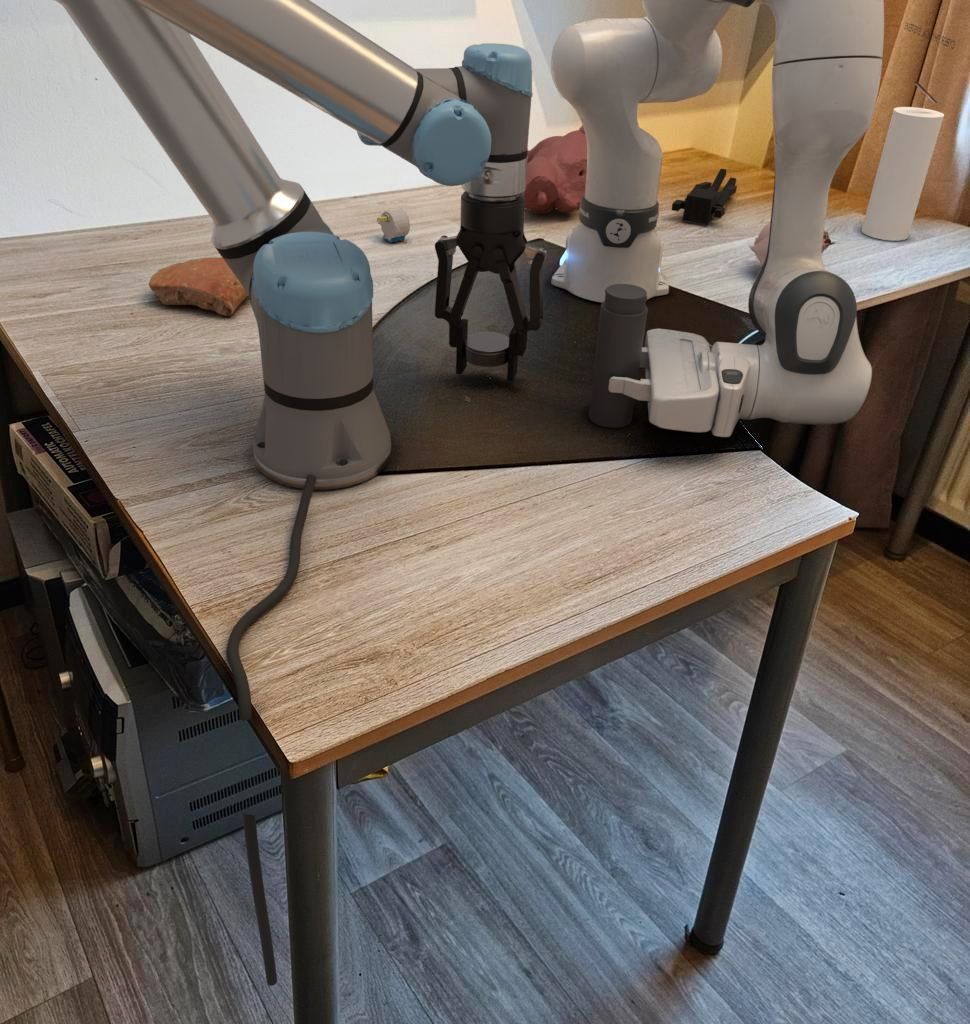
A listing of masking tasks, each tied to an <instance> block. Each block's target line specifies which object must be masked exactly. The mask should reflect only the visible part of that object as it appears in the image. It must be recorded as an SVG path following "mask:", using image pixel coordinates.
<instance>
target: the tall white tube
mask: <svg viewBox="0 0 970 1024" xmlns="http://www.w3.org/2000/svg"><path fill="white" fill-rule="evenodd" d="M904 30H905V31H907V32H910V33H912V32H913V34H915V33H916V34H917V35H918V36H921V37H923V38H924V37H925V39H928V40H930V41H931V40H932V41H933V42H937V40H938V44H939V43H940V44H942V45H943V46H946V47H947V48H948V47H949V49H950V48H951V49H952V50H953V49H954V48H955V45H956V40H954V39H951V38H948V37H946V36H942V37H941V34H938V35H937V33H934V32H933V31H931V30H926V29H923V34H921V31H922V27H920V26H918V25H915V24H912V23H909V22H908V21H907V22H905V26H904ZM927 33H928V35H927ZM940 37H941V38H940ZM940 39H941V42H940ZM945 39H946V40H945ZM944 42H945V43H944ZM952 43H954V44H953V46H952ZM913 84H914V85H915V86H916V87H917V88H919V90H920V91H921V92H922V95H923V96H924V97H926V98H928V99H929V100H930V101H931V102H932V103H934V104H937V103H938V101H937V100H936V99H935V98H934V97H932V95H931V94H930V93H929V92H928V91H927V90H926V89H925V88H924V87H923V86H922V85H921V84H920V83H919V82H918V81H915V80H914V82H913ZM944 117H945V114H944V113H943V112H940V111H937V110H936V109H935V110H934V109H929V108H924V107H915V106H914V107H913V106H897V107H894V108H893V110H892V114H891V118H890V122H889V126H888V129H887V133H886V137H885V140H884V145H883V148H882V151H881V155H880V159H879V163H878V166H877V170H876V174H875V177H874V182H873V185H872V189H871V193H870V196H869V201H868V203H867V208H866V212H865V215H864V220H863V222H862V227H861V232H862V233H863V234H864V235H866V236H868V237H871V238H873V239H878V240H884V241H893V242H895V241H897V242H898V241H899V242H900V241H905V240H907V239H909V236H910V233H911V229H912V226H913V222H914V219H915V215H916V211H917V210H918V209H917V208H918V206H919V202H920V198H921V195H922V191H923V188H924V184H925V182H926V178H927V175H928V171H929V169H930V165H931V161H932V158H933V155H934V151H935V148H936V145H937V142H938V141H937V140H938V138H939V134H940V130H941V127H942V124H943V121H944Z"/></svg>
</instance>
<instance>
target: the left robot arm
mask: <svg viewBox="0 0 970 1024" xmlns="http://www.w3.org/2000/svg"><path fill="white" fill-rule="evenodd" d="M53 1H54V2H56V3H58V4H60V5H61V6H62V7H63V9H64V10H65V11H66V13H67V14H68V15H69V17H70V18H71V20H72V22H73V23H74V24H75V26H76V27H77V28H78V30H79V31H80V33H81V34H82V36H83V37H84V39H85V40H86V41H87V42H88V45H90V47H91V48H92V50H93V51H94V53H95V54H96V56H97V57H98V59H99V60H100V62H102V64H103V66H104V67H105V69H106V70H107V71H108V72H109V74H110V75H111V77H112V79H113V80H114V81H115V82H116V84H117V86H118V87H119V88H120V90H121V91H122V92H123V94H124V95H125V97H126V98H127V100H128V101H129V103H131V105H132V107H133V108H134V110H135V111H136V113H137V114H138V115H139V117H140V118H141V120H142V121H143V122H144V124H145V125H146V127H147V128H148V130H149V131H150V132H151V134H152V136H153V137H154V138H155V140H156V141H157V142H158V144H159V145H160V147H161V148H162V149H163V151H164V153H165V155H167V157H168V158H169V160H170V161H171V163H172V164H173V165H174V167H175V169H177V171H178V172H179V174H180V176H181V177H182V178H183V180H184V181H185V182H186V185H188V187H189V188H190V189H191V191H192V192H193V194H194V195H195V197H196V198H197V199H198V201H199V202H200V204H201V205H202V207H203V208H204V210H205V211H206V212H207V214H208V215H209V217H210V218H211V220H212V221H213V227H212V233H211V243H212V245H213V247H214V248H215V250H216V251H217V252H218V253H219V255H220V256H221V258H223V259H224V261H225V262H226V263H227V265H228V266H229V268H230V269H231V270H232V272H233V273H234V275H235V276H236V277H237V279H238V280H239V282H240V283H241V285H242V286H243V288H244V289H245V291H246V292H247V294H248V296H247V297H248V299H249V302H250V305H251V308H252V311H253V316H254V318H255V321H256V324H257V331H258V337H259V348H260V357H261V358H260V359H261V369H262V378H263V388H264V390H263V391H264V396H263V400H262V404H261V408H260V412H259V415H258V419H257V423H256V427H255V430H254V434H253V439H252V441H253V442H252V455H253V460H254V464H255V467H256V468H257V470H258V471H259V472H260V473H261V474H262V475H263V476H265V477H266V478H268V479H269V480H271V481H273V482H275V483H278V484H280V485H283V486H286V487H290V488H295V489H301V490H302V494H301V497H300V501H299V505H298V509H297V513H296V516H295V519H294V524H293V527H292V531H291V536H290V545H289V560H288V566H287V569H286V572H285V574H284V576H283V578H282V580H281V581H280V583H279V584H278V585H277V586H276V588H274V589H273V591H272V592H271V593H269V594H268V595H267V596H265V597H264V598H263V599H262V600H260V601H259V602H258V603H257V604H255V605H254V606H252V607H251V608H250V609H248V610H247V611H246V612H245V613H244V614H243V615H242V616H241V617H240V618H239V619H238V621H237V622H236V623H235V625H234V626H233V627H232V630H231V632H230V634H229V637H228V640H227V645H226V650H225V651H226V659H227V663H228V666H229V669H230V671H231V674H232V676H233V680H234V685H235V689H236V695H237V706H238V718H239V720H240V721H242V722H245V721H248V720H250V719H251V718H252V714H253V713H252V712H253V709H252V698H251V697H252V696H251V695H252V694H251V689H250V683H249V679H248V676H247V673H246V670H245V667H244V665H243V662H242V660H241V656H240V642H241V640H242V638H243V635H244V634H245V632H247V630H248V628H249V627H250V626H251V625H252V624H253V623H254V622H255V621H257V620H258V618H259V617H261V616H262V615H264V614H265V613H266V612H267V611H269V609H271V608H272V607H274V606H275V605H276V604H277V603H278V602H280V600H281V599H283V598H284V596H286V595H287V593H288V592H289V591H290V589H291V587H292V586H293V585H294V582H295V580H296V578H297V575H298V573H299V568H300V564H301V549H302V547H301V545H302V536H303V531H304V527H305V522H306V518H307V515H308V511H309V507H310V504H311V499H312V495H313V492H314V490H315V491H323V490H327V491H328V490H337V489H342V488H348V487H351V486H355V485H358V484H361V483H363V482H366V481H368V480H370V479H373V478H374V477H375V476H377V475H378V474H380V473H381V472H382V471H383V470H384V469H385V468H386V467H387V466H388V464H389V463H390V461H391V458H392V438H391V432H390V430H389V427H388V424H387V422H386V419H385V417H384V413H383V411H382V408H381V406H380V403H379V400H378V398H377V395H376V393H375V385H374V336H373V333H374V332H373V330H374V329H373V328H374V327H373V298H374V282H373V277H372V274H371V265H370V262H369V259H368V257H367V255H366V254H365V252H364V251H363V250H362V249H361V248H360V247H359V246H358V245H357V244H355V243H354V242H353V241H350V240H349V239H347V238H345V239H341V238H340V237H339V236H338V235H336V234H335V233H334V232H333V231H332V229H331V228H330V226H329V225H328V224H327V223H326V222H325V221H324V219H323V218H322V217H321V215H320V213H319V211H318V210H317V208H316V207H315V205H314V203H313V201H312V200H311V198H310V197H309V196H308V194H307V192H306V191H305V189H304V187H303V186H302V184H300V183H299V182H296V181H293V180H288V179H283V178H282V177H280V175H279V174H278V171H277V170H276V169H275V167H274V166H273V164H272V162H271V161H270V159H269V158H268V156H267V154H266V153H265V151H264V149H263V148H262V146H261V145H260V143H259V142H258V141H257V138H256V137H255V136H254V134H253V132H252V131H251V128H249V126H248V124H247V123H246V121H245V120H244V117H242V115H241V113H240V112H239V110H238V108H237V106H236V105H235V103H234V102H233V101H232V99H231V97H230V96H229V94H228V92H227V90H226V89H225V88H224V85H222V83H221V81H220V80H219V78H218V76H217V75H216V73H215V71H214V70H213V69H212V67H211V66H210V64H209V61H208V60H207V59H206V57H205V56H204V55H203V52H202V51H201V49H200V47H199V46H198V45H197V43H196V41H195V40H194V38H193V37H195V38H196V39H199V40H200V41H201V42H203V43H205V44H206V45H209V46H210V47H212V48H214V49H216V50H217V51H219V52H221V53H222V54H224V55H225V56H227V57H229V58H231V59H233V60H234V61H236V62H238V63H240V64H241V65H243V66H244V67H246V68H247V69H250V70H251V71H253V72H254V73H256V74H258V75H260V76H261V77H263V78H264V79H267V80H268V81H269V82H272V83H273V84H275V85H277V86H279V87H280V88H282V89H284V90H286V91H288V92H289V93H291V94H293V95H294V96H296V97H297V98H299V99H301V100H303V101H304V102H306V103H308V104H310V105H311V106H313V107H314V108H317V109H318V110H320V111H322V112H324V113H325V114H327V115H328V116H331V117H332V118H333V119H335V120H337V121H339V122H341V123H342V124H344V125H346V126H347V127H349V128H350V129H352V130H354V131H356V133H357V136H358V138H359V140H360V142H361V143H363V144H364V145H365V146H369V147H370V146H373V147H374V146H375V147H382V148H385V149H386V150H388V151H389V152H391V153H393V154H394V155H396V156H397V157H399V158H401V159H403V160H404V161H406V162H408V163H410V164H411V165H412V166H414V167H416V168H417V169H418V171H419V172H420V173H421V174H422V175H423V176H425V177H426V178H428V179H430V180H432V181H434V182H435V183H437V184H439V185H442V186H446V187H447V186H448V187H457V186H461V189H462V190H463V191H464V192H463V193H462V194H461V195H460V228H459V231H458V233H457V235H454V236H453V235H452V236H447V235H444V234H443V235H441V236H440V237H439V238H438V239H437V241H436V242H435V244H434V251H435V253H436V257H437V260H438V262H437V275H436V276H437V277H436V288H435V303H434V317H435V318H437V319H438V320H441V319H442V320H444V321H446V322H447V323H448V326H449V327H448V345H449V347H450V348H456V349H455V350H456V355H455V357H456V359H455V374H456V375H463V374H464V372H465V370H466V368H467V366H468V361H466V360H465V358H464V340H465V338H466V337H467V336H468V335H469V334H468V333H469V319H467V318H462V317H463V315H464V314H465V313H464V312H465V309H466V306H467V304H468V301H469V298H470V295H471V292H472V290H473V287H474V284H475V281H476V279H477V276H478V273H484V272H490V273H493V274H496V275H499V279H500V282H501V283H502V285H503V288H504V292H505V296H506V298H507V304H508V307H509V311H510V314H511V318H512V323H513V326H512V328H511V330H510V332H509V336H508V337H509V351H508V363H507V370H506V371H507V373H506V374H507V375H506V381H507V382H514V380H515V377H516V376H517V374H518V365H519V364H518V363H519V357H523V356H524V355H525V352H526V350H527V347H528V345H527V344H528V332H531V331H534V332H536V331H538V330H539V329H540V327H541V325H542V323H543V321H544V265H545V261H546V259H547V257H548V254H549V249H548V247H547V246H544V245H542V246H539V247H537V246H535V245H533V244H532V243H531V244H530V243H529V242H528V239H527V238H526V235H525V230H524V229H525V213H526V212H525V211H526V208H525V197H524V196H523V194H522V193H523V192H524V191H525V190H526V181H527V162H528V150H529V148H528V147H529V134H530V121H531V110H532V109H531V108H532V98H533V65H532V64H533V62H532V61H533V60H532V56H531V55H530V53H529V52H528V50H526V49H525V48H523V47H521V46H518V45H514V44H509V43H507V44H506V43H495V42H493V43H492V42H491V43H489V42H488V43H487V42H486V43H484V42H483V43H479V44H471V45H468V46H467V47H466V48H465V50H464V51H463V59H462V61H461V65H460V66H454V67H446V68H445V67H441V68H440V67H438V68H437V67H436V68H414V67H413V66H411V65H410V64H409V63H406V62H405V61H404V60H402V59H400V58H399V57H397V56H396V55H395V54H393V53H391V52H390V51H388V50H387V49H385V48H384V47H382V46H380V45H379V44H378V43H376V42H374V41H373V40H371V39H369V38H368V37H367V36H365V35H363V34H362V33H361V32H359V31H357V30H356V29H354V28H353V27H352V26H350V25H348V24H347V23H345V22H344V21H342V20H341V19H339V18H337V17H336V16H334V14H332V13H330V12H328V11H327V10H326V9H324V8H322V7H321V6H319V5H318V4H317V3H314V2H313V1H311V0H53ZM192 36H193V37H192ZM457 247H458V249H459V250H460V252H461V253H462V254H463V256H464V257H465V259H466V261H467V264H466V267H465V270H464V273H463V277H462V279H461V282H460V285H459V288H458V291H457V294H456V297H455V300H454V303H453V305H452V307H451V306H450V299H451V288H452V287H451V286H452V275H453V274H452V273H453V264H454V263H453V262H454V255H455V253H456V252H457ZM523 254H524V255H525V256H526V263H527V264H528V265H529V266H530V268H529V317H528V314H527V310H526V305H525V302H524V298H523V293H522V291H521V287H520V282H519V279H518V275H517V266H516V262H517V261H518V260H519V258H520V257H521V256H522V255H523ZM256 819H257V817H256V814H248V813H247V814H246V813H242V822H243V830H244V840H245V848H246V857H247V865H248V873H249V877H250V878H249V879H250V885H251V892H252V897H253V903H254V910H255V916H256V921H257V927H258V932H259V939H260V945H261V952H262V959H263V966H264V972H265V980H266V984H267V986H270V987H273V986H275V985H276V984H277V982H278V974H277V966H276V960H275V952H274V945H273V938H272V932H271V925H270V918H269V913H268V907H267V900H266V893H265V887H264V879H263V873H262V865H261V859H260V857H261V855H260V849H259V848H260V847H259V839H258V828H257V820H256Z"/></svg>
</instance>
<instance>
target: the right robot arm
mask: <svg viewBox="0 0 970 1024" xmlns="http://www.w3.org/2000/svg"><path fill="white" fill-rule="evenodd" d="M641 2H642V7H643V11H644V14H645V16H644V17H624V18H623V17H621V18H620V17H618V18H617V17H610V18H609V17H603V18H602V17H601V18H594V19H590V20H585V21H581V22H578V23H575V24H574V23H573V24H571V25H567V26H566V27H564V28H563V29H562V31H561V32H560V33H559V35H558V36H557V38H556V40H555V42H554V44H553V47H552V50H551V54H550V66H549V67H550V74H551V79H552V81H553V84H554V86H555V88H556V90H557V91H558V93H559V94H560V95H561V97H562V98H563V99H564V100H566V102H568V103H569V104H570V106H572V108H573V109H574V110H575V112H576V114H577V116H578V117H579V120H580V122H581V125H583V127H584V131H585V135H586V140H587V172H586V185H585V194H584V195H583V196H582V199H581V204H580V207H579V208H578V210H579V215H578V221H579V223H578V225H577V226H576V227H575V228H573V230H572V231H571V232H570V233H568V234H567V235H566V239H565V248H566V249H565V251H564V253H563V254H562V256H561V258H560V260H559V267H558V269H556V271H555V272H554V274H553V275H552V276H551V279H550V284H551V285H552V286H555V287H557V288H561V289H562V290H563V289H564V290H566V291H567V292H569V293H570V294H573V296H576V297H578V298H581V299H584V300H588V301H590V302H591V301H592V302H596V303H602V302H604V301H605V289H606V288H607V287H608V286H610V285H614V284H631V285H635V286H639V287H641V288H643V289H645V290H646V292H647V300H649V299H651V298H654V297H660V296H665V295H668V294H669V293H670V286H669V284H668V283H667V281H666V280H665V278H664V276H662V274H661V269H662V268H661V267H662V259H663V252H664V241H663V240H662V238H661V236H660V235H658V233H657V231H656V229H655V228H656V227H657V224H658V219H659V215H660V212H659V211H660V210H659V208H660V203H659V201H658V196H659V190H660V189H659V188H660V183H661V176H662V168H663V160H664V155H663V154H664V153H663V150H662V149H663V148H662V147H661V145H660V143H659V141H658V140H657V139H656V138H655V137H654V136H653V135H652V134H651V133H649V132H647V131H646V130H644V129H643V128H641V127H640V126H639V121H638V106H639V104H663V103H678V102H681V101H685V100H688V99H692V98H696V97H698V96H702V95H704V94H706V93H708V92H709V91H710V90H711V89H712V87H713V86H714V85H715V83H716V82H717V79H718V77H719V76H720V73H721V69H722V65H723V47H722V43H721V42H722V41H721V39H720V37H719V35H718V32H717V31H716V29H717V27H718V25H719V24H720V23H721V21H722V20H723V19H724V17H725V16H726V14H727V13H728V12H729V10H730V9H731V8H732V6H733V5H737V6H739V7H742V8H749V7H750V6H751V5H753V4H761V5H765V6H767V7H768V8H769V9H770V11H771V12H772V14H773V16H774V20H775V37H774V46H773V54H772V55H773V56H772V72H771V117H772V118H771V119H772V131H773V134H772V135H773V150H774V151H773V152H774V153H773V154H774V182H773V191H772V192H773V193H772V205H771V213H770V214H771V215H770V221H771V223H770V233H769V243H768V250H767V254H766V258H765V261H764V263H763V265H762V266H761V268H760V270H759V272H758V274H757V276H756V278H754V279H755V280H754V281H753V283H752V286H751V288H750V292H749V295H748V302H747V304H748V307H747V308H748V309H747V310H748V314H749V317H750V320H751V322H752V325H753V326H754V328H755V329H756V330H757V332H758V333H759V334H761V336H763V337H764V338H765V339H764V342H763V343H762V344H752V343H751V344H750V343H749V344H748V343H737V342H725V341H715V342H714V343H713V345H712V344H711V343H709V341H708V340H707V339H706V338H705V337H704V336H702V335H700V334H696V333H692V332H687V331H682V330H681V331H680V330H673V329H666V328H651V329H649V330H647V331H646V335H645V339H644V346H642V353H641V360H640V367H639V368H644V375H645V378H639V379H640V380H639V379H638V380H634V379H631V378H627V377H625V374H615V373H613V374H611V375H610V376H609V384H608V389H609V391H610V392H613V393H623V394H625V395H627V396H629V397H632V398H634V399H635V400H637V401H642V402H643V401H644V402H647V410H648V421H649V423H650V424H652V425H654V426H656V427H658V428H660V429H665V430H671V431H680V432H689V433H707V432H709V431H711V434H712V435H713V436H715V437H720V438H730V437H731V436H732V434H733V432H734V430H735V427H736V425H737V423H738V421H739V420H746V421H747V420H748V421H751V420H757V419H771V420H774V421H777V422H779V423H781V424H793V425H810V426H811V425H817V426H818V425H820V426H821V425H835V424H842V423H846V422H848V421H850V420H852V419H853V418H854V417H855V416H856V415H857V414H858V413H859V411H860V410H862V409H863V407H864V404H865V403H866V401H867V399H868V397H869V394H870V391H871V388H872V380H873V367H872V364H871V363H870V361H869V359H868V358H867V356H866V354H865V351H864V349H863V347H862V343H861V339H860V335H859V329H858V320H857V319H858V317H857V314H858V313H857V312H858V307H857V306H858V305H857V299H856V296H855V293H854V291H853V288H851V286H850V285H849V283H848V282H847V281H846V280H844V279H843V278H842V277H841V276H839V275H837V274H835V273H833V272H830V271H828V270H826V268H825V266H824V262H823V255H822V254H823V253H822V243H823V235H824V230H825V225H826V218H827V208H828V202H829V201H828V200H829V194H830V189H831V185H832V182H833V179H834V176H835V174H836V172H837V170H838V168H839V167H840V164H841V163H842V161H843V160H844V159H845V158H846V156H847V155H848V153H849V152H850V151H851V150H852V149H853V148H854V146H855V145H856V144H857V143H858V142H859V140H860V139H861V138H863V136H864V134H865V133H866V132H867V130H868V129H869V127H870V124H871V121H872V118H873V114H874V110H875V107H876V102H877V99H878V96H879V95H878V94H879V90H880V85H881V76H882V66H883V53H884V41H885V1H884V0H641Z"/></svg>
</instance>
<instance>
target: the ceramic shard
mask: <svg viewBox="0 0 970 1024" xmlns="http://www.w3.org/2000/svg"><path fill="white" fill-rule="evenodd" d="M148 287H149V288H150V290H151V291H152V292H153V293H155V294H156V296H157V298H158V300H159V301H160V302H161V304H162V305H167V306H168V305H169V306H171V305H173V306H174V305H176V306H177V305H178V306H187V305H188V306H197V307H199V308H200V309H203V310H207V311H213V312H216V313H217V314H218V315H221V316H225V317H229V316H232V315H233V314H234V313H235V311H236V309H237V308H238V307H239V306H240V305H241V303H243V301H244V300H245V299H246V298H247V297H249V296H248V294H247V292H246V291H245V289H244V288H243V286H242V285H241V283H240V282H239V280H238V279H237V277H236V276H235V275H234V273H233V272H232V270H231V269H230V268H229V266H228V265H227V263H226V262H225V261H224V259H223V258H222V257H203V258H201V257H200V258H196V259H190V260H187V261H184V262H178V263H174V264H171V265H168V266H166V267H162V268H160V269H158V270H157V272H155V273H154V274H152V275H151V277H150V279H149V281H148Z"/></svg>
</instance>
